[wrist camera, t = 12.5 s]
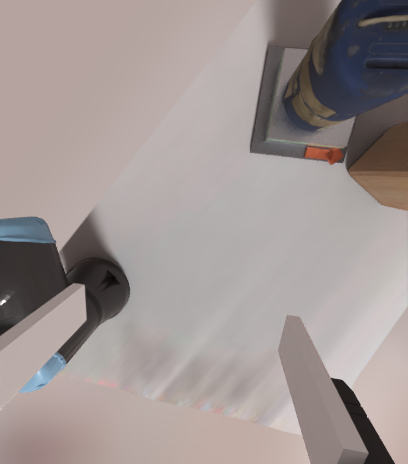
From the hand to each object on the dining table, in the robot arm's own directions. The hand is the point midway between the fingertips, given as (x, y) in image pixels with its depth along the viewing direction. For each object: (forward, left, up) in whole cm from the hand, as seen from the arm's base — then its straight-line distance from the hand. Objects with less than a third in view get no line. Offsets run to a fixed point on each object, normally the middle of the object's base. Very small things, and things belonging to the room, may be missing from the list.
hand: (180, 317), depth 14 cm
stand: (+13, +21, -31) cm, 40 cm away
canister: (+13, +21, -26) cm, 36 cm away
